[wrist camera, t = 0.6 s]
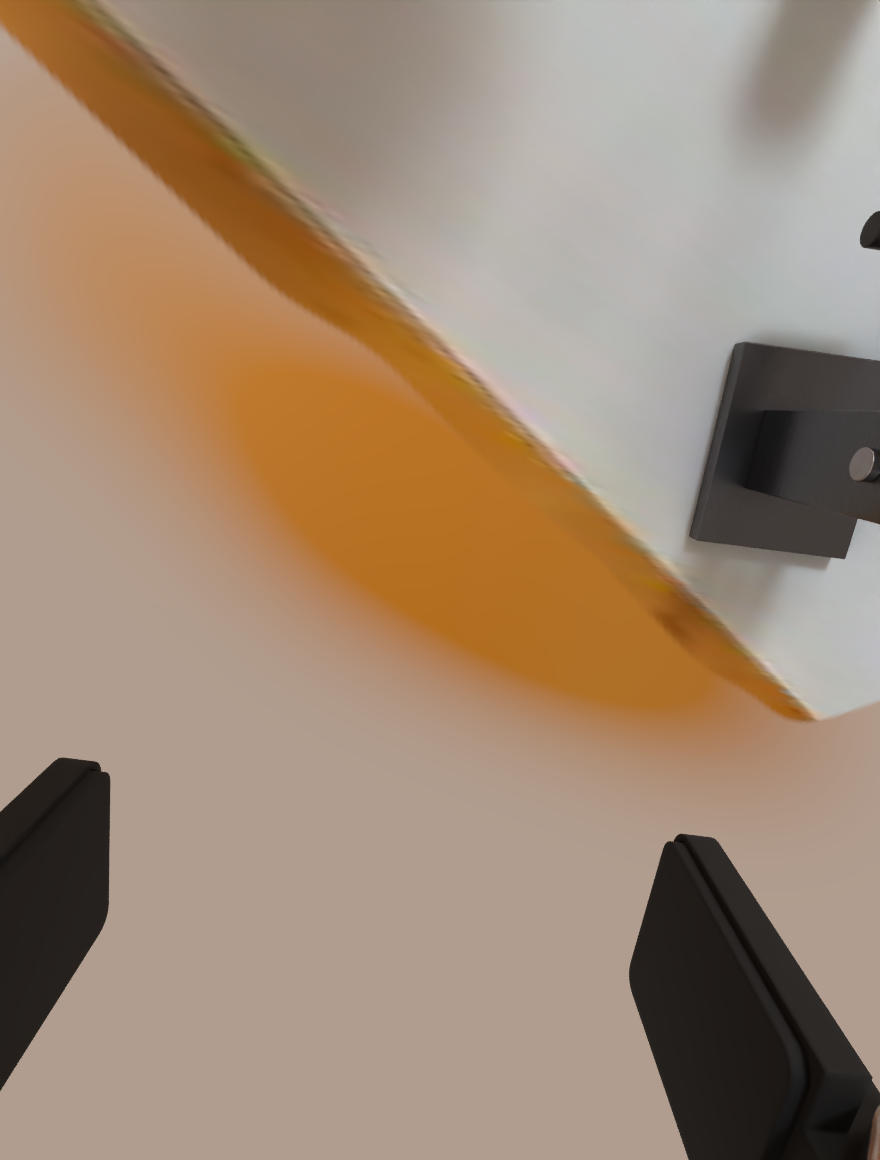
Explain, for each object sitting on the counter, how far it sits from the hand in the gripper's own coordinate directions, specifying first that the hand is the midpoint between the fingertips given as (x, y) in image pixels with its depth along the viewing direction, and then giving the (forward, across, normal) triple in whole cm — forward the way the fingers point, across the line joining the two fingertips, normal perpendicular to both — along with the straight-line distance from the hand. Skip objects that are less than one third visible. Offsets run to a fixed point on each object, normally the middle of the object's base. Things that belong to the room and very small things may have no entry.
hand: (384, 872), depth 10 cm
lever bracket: (+28, -20, -8) cm, 36 cm away
